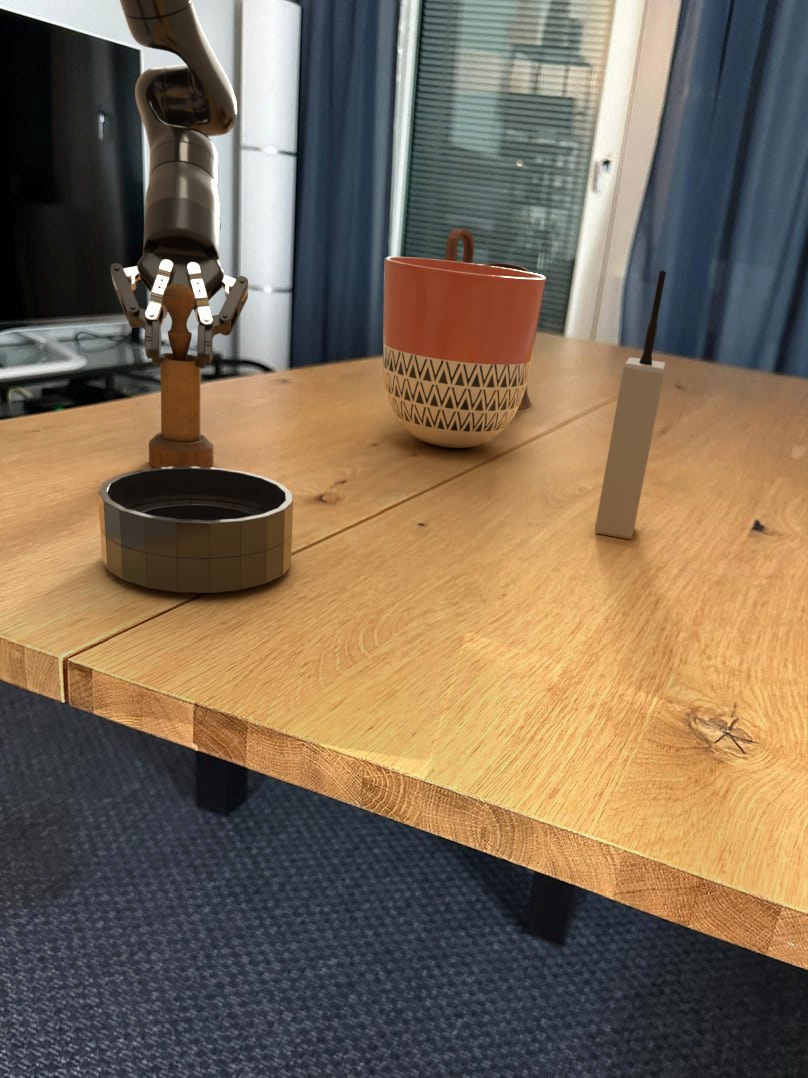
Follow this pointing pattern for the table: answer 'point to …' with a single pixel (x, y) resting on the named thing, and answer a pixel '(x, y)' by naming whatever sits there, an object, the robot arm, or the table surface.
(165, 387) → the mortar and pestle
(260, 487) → the bowl
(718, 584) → the table surface
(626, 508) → the vintage mobile phone
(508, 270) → the planter
